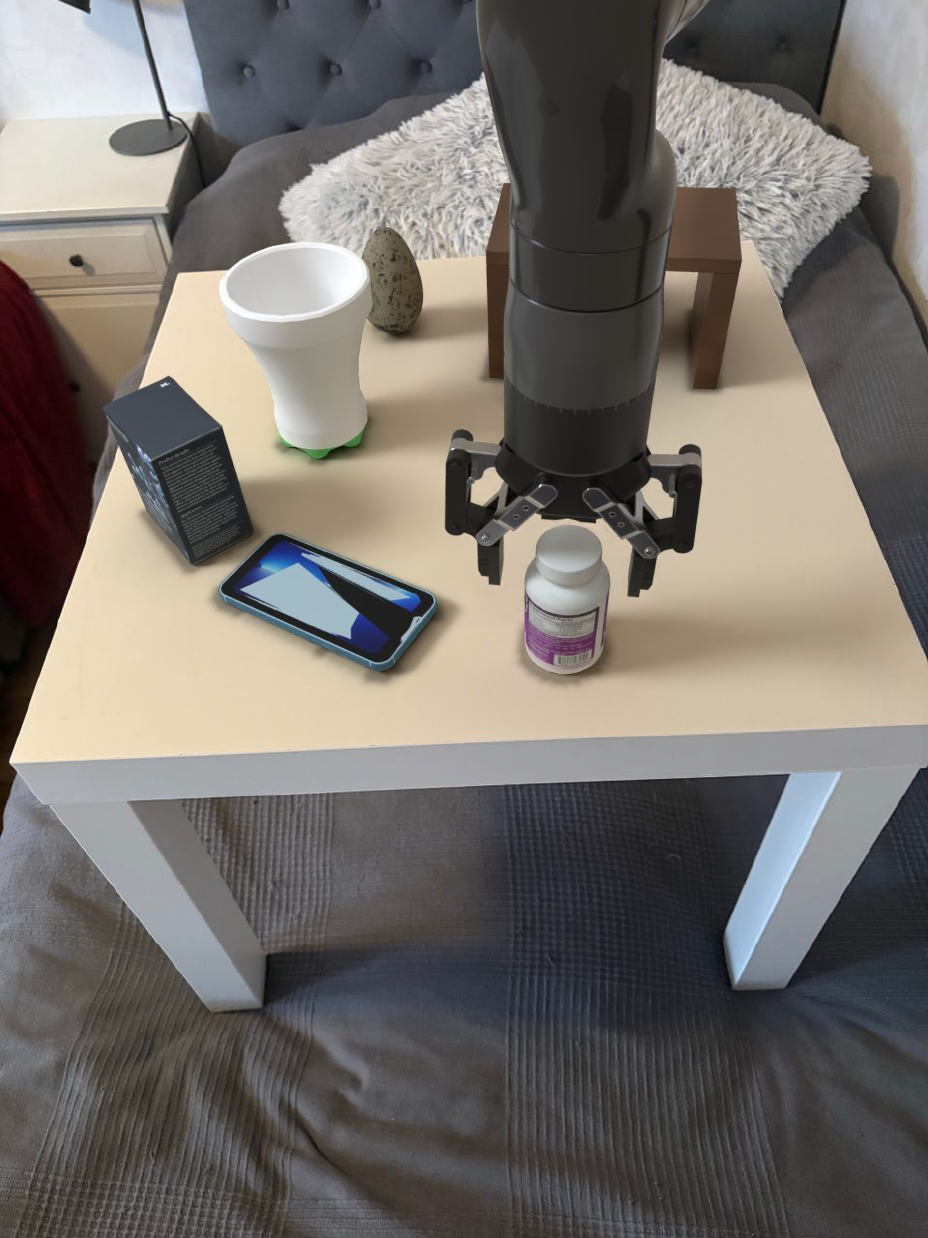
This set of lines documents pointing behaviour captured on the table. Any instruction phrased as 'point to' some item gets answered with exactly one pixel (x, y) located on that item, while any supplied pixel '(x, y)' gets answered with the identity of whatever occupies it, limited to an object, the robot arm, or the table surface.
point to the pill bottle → (566, 600)
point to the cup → (305, 337)
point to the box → (181, 468)
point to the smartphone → (330, 600)
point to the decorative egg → (392, 282)
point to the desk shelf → (696, 245)
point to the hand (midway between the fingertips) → (564, 581)
